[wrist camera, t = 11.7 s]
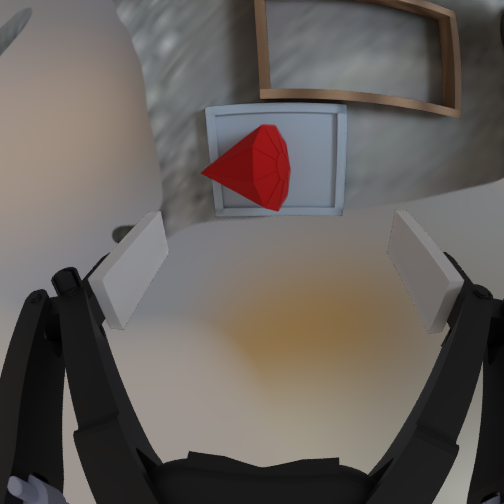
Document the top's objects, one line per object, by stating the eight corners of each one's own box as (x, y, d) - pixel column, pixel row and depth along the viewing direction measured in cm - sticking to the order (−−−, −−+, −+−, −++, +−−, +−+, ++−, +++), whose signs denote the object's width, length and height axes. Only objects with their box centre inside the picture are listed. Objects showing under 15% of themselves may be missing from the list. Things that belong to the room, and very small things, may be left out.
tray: (343, 104, 27) (346, 104, 26) (339, 211, 34) (342, 215, 32) (208, 106, 29) (205, 107, 27) (218, 211, 35) (215, 216, 34)
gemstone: (206, 227, 33) (287, 230, 28) (161, 179, 26) (252, 170, 21) (230, 170, 36) (303, 166, 32) (197, 120, 30) (279, 105, 25)
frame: (443, 15, 18) (455, 11, 16) (448, 115, 25) (460, 118, 23) (254, -11, 21) (252, -20, 18) (261, 98, 28) (260, 98, 25)
